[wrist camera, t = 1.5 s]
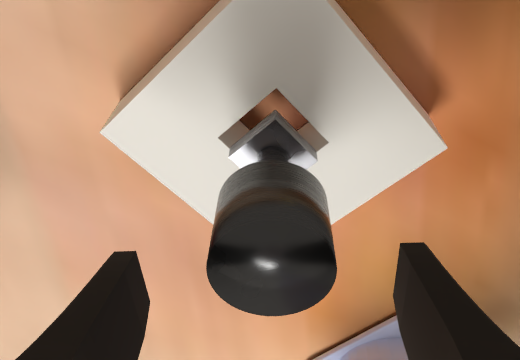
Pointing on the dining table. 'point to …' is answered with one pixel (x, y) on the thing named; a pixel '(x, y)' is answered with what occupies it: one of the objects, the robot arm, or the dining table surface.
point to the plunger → (272, 225)
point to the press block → (262, 84)
